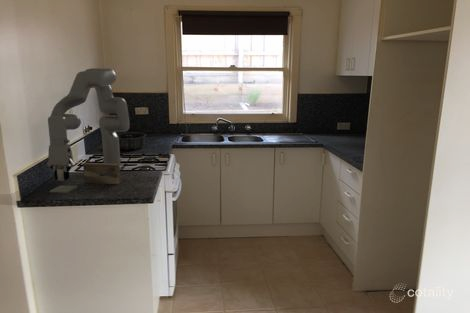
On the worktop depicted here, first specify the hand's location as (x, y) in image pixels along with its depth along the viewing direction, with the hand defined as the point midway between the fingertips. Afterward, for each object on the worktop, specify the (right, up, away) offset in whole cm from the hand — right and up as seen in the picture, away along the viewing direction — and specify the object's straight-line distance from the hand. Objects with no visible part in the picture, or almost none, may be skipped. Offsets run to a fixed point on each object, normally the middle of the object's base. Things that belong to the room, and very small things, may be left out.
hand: (62, 178), depth 176 cm
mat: (0, -5, +1) cm, 6 cm away
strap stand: (+15, -3, +14) cm, 20 cm away
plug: (0, -1, 0) cm, 0 cm away
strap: (+21, +3, +4) cm, 21 cm away
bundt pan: (+3, +17, +103) cm, 105 cm away
